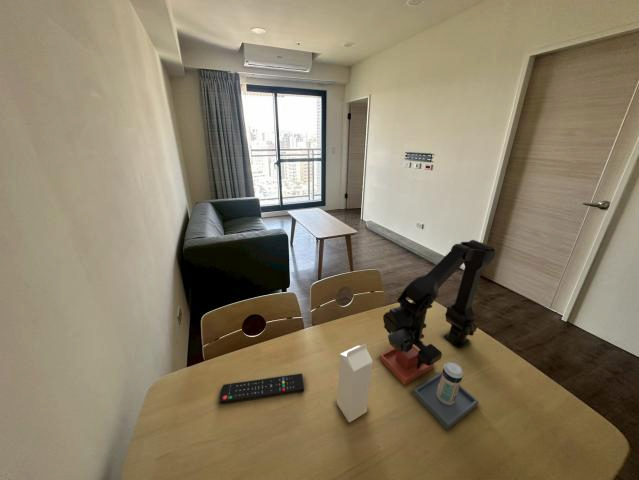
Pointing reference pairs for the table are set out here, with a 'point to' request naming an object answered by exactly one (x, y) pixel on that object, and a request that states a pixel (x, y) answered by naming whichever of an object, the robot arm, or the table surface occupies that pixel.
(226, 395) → the remote control
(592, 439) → the table surface
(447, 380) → the pill bottle
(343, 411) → the milk
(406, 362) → the red block
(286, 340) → the table surface
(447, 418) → the grey tray
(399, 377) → the red tray
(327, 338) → the table surface
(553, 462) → the table surface
